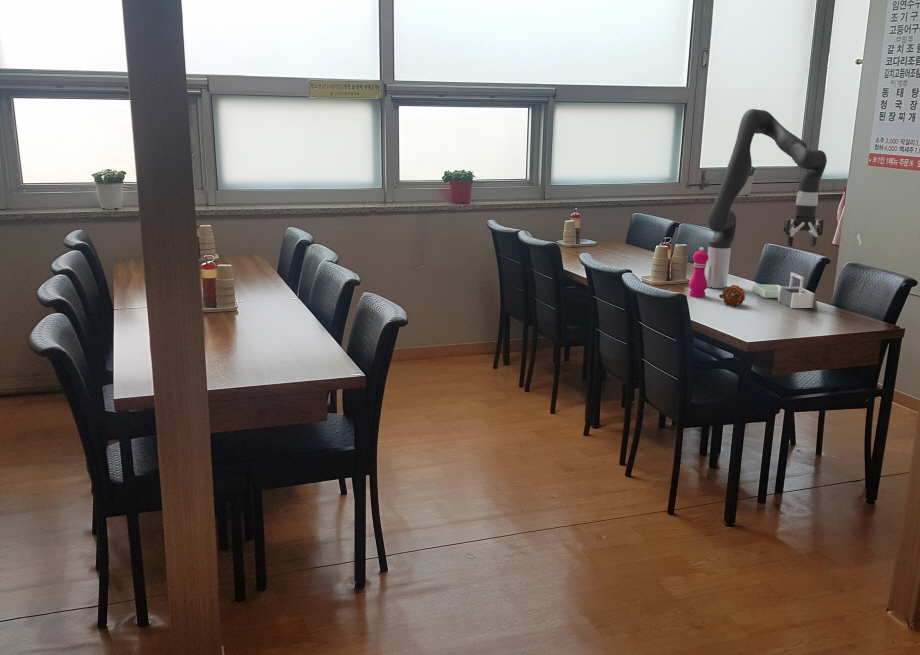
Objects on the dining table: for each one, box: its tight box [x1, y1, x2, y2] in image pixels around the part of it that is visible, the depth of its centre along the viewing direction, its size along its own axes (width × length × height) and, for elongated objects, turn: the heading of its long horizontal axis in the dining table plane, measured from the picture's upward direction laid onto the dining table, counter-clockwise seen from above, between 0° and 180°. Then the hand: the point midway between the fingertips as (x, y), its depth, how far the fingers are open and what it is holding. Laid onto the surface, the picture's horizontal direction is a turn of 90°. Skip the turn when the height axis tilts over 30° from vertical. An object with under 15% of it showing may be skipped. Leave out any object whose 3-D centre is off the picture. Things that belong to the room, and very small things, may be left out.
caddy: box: [779, 272, 806, 308], centre depth 312 cm, size 7×10×12 cm
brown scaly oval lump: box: [718, 284, 746, 307], centre depth 311 cm, size 8×8×12 cm
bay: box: [777, 286, 816, 309], centre depth 312 cm, size 8×13×6 cm, turn 1°
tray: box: [751, 284, 782, 300], centre depth 330 cm, size 11×14×3 cm
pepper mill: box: [688, 246, 709, 298], centre depth 324 cm, size 7×7×20 cm
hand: (801, 246), depth 307 cm, fingers open, 8 cm apart
